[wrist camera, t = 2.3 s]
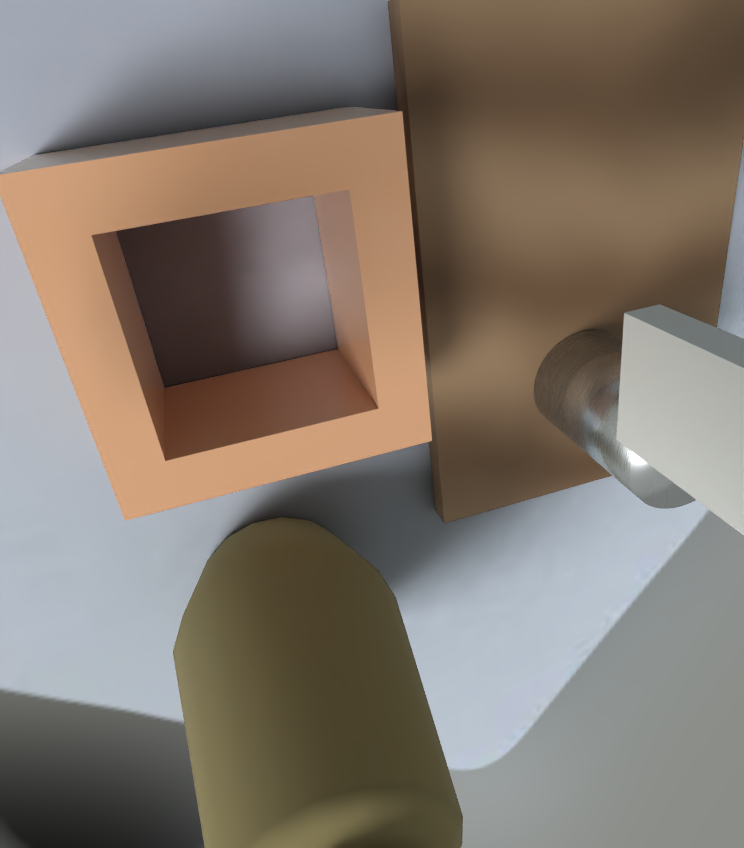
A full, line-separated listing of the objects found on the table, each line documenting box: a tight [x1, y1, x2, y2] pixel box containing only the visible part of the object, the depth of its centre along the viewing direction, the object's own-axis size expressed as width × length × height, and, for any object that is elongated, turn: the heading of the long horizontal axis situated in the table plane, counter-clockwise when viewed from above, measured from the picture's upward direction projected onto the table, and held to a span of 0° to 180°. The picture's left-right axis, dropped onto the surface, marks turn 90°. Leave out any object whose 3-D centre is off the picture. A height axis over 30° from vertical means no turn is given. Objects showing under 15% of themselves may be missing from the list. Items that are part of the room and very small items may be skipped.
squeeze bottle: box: [173, 517, 463, 848], centre depth 19 cm, size 8×8×18 cm
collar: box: [0, 107, 432, 520], centre depth 19 cm, size 9×9×5 cm
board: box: [388, 0, 744, 523], centre depth 24 cm, size 18×12×1 cm, turn 8°
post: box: [534, 329, 696, 508], centre depth 23 cm, size 4×4×6 cm
